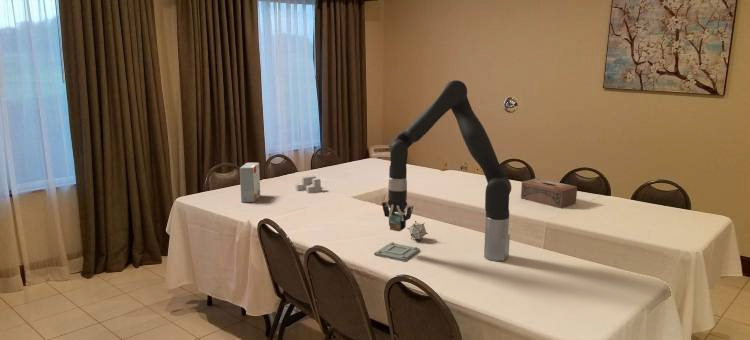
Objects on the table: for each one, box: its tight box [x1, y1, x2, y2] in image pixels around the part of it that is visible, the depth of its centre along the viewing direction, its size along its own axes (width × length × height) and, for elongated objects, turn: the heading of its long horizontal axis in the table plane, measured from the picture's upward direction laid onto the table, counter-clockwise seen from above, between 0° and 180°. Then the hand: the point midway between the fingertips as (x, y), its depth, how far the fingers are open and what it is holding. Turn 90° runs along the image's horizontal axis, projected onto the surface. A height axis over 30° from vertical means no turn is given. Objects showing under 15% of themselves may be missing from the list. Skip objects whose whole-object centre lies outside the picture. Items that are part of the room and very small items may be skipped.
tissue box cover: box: [520, 177, 578, 209], centre depth 300 cm, size 26×14×10 cm, turn 39°
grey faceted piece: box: [406, 220, 429, 242], centre depth 240 cm, size 9×8×10 cm
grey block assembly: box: [294, 174, 322, 194], centre depth 325 cm, size 12×12×8 cm
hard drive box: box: [239, 162, 261, 203], centre depth 306 cm, size 16×8×20 cm, turn 179°
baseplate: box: [373, 241, 421, 262], centre depth 224 cm, size 14×14×2 cm
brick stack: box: [389, 212, 406, 232], centre depth 222 cm, size 4×4×6 cm
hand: (397, 227), depth 222 cm, fingers closed on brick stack, 4 cm apart
